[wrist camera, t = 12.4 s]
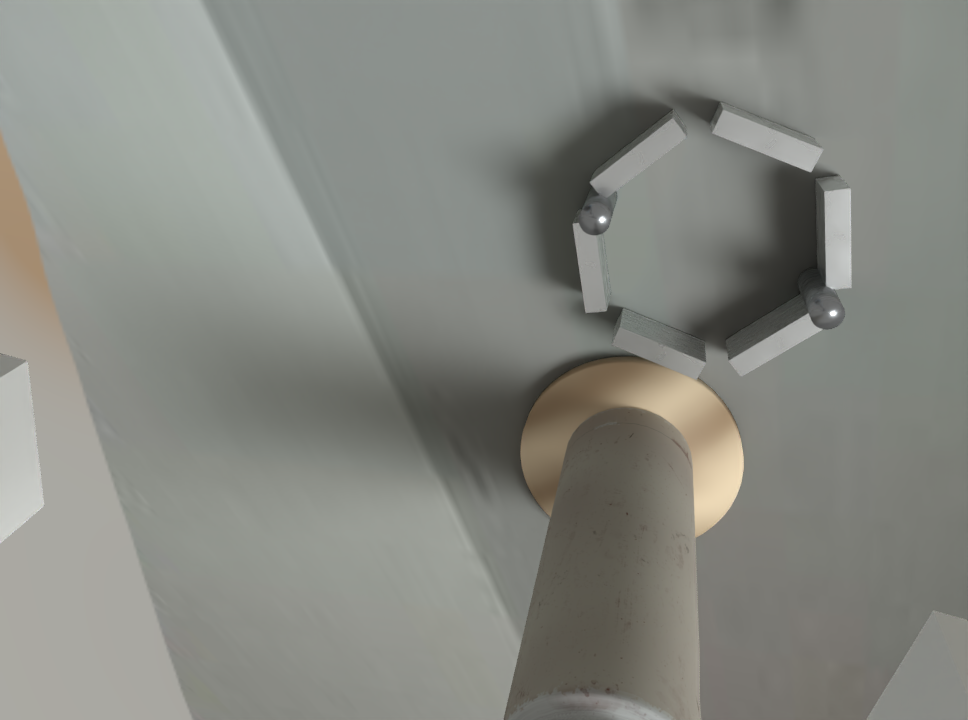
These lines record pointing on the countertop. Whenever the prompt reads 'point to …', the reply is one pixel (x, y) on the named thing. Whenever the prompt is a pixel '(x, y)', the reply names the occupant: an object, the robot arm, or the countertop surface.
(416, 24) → the countertop surface
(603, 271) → the collar
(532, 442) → the pad
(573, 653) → the thermos bottle
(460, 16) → the countertop surface
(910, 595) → the countertop surface
